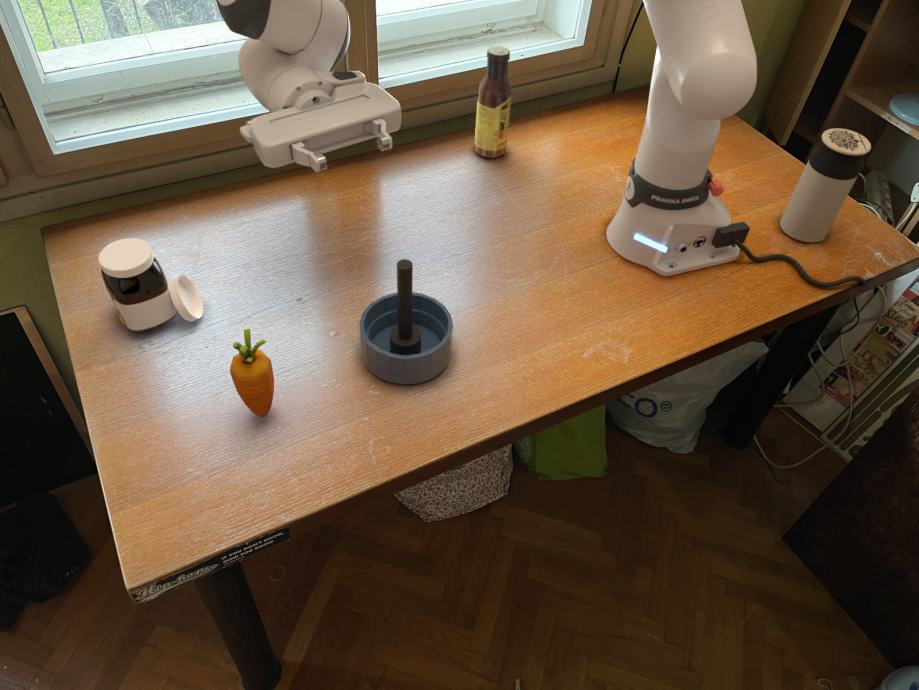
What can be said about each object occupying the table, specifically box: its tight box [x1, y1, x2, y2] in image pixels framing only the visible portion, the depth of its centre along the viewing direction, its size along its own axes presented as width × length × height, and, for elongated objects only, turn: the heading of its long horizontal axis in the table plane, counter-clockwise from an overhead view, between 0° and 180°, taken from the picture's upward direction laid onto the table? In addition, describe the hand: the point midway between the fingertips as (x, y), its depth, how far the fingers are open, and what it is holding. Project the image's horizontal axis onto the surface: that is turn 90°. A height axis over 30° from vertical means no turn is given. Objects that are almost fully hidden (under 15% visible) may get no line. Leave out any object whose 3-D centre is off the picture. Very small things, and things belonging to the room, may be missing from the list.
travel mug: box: [779, 127, 872, 243], centre depth 121 cm, size 8×8×18 cm
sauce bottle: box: [474, 45, 513, 159], centre depth 133 cm, size 7×6×20 cm
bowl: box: [358, 291, 454, 385], centre depth 102 cm, size 13×13×6 cm
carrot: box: [229, 328, 275, 418], centre depth 89 cm, size 5×5×15 cm
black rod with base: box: [390, 258, 421, 355], centre depth 97 cm, size 4×4×16 cm
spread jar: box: [98, 237, 204, 333], centre depth 102 cm, size 12×11×12 cm
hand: (355, 155), depth 91 cm, fingers open, 8 cm apart
